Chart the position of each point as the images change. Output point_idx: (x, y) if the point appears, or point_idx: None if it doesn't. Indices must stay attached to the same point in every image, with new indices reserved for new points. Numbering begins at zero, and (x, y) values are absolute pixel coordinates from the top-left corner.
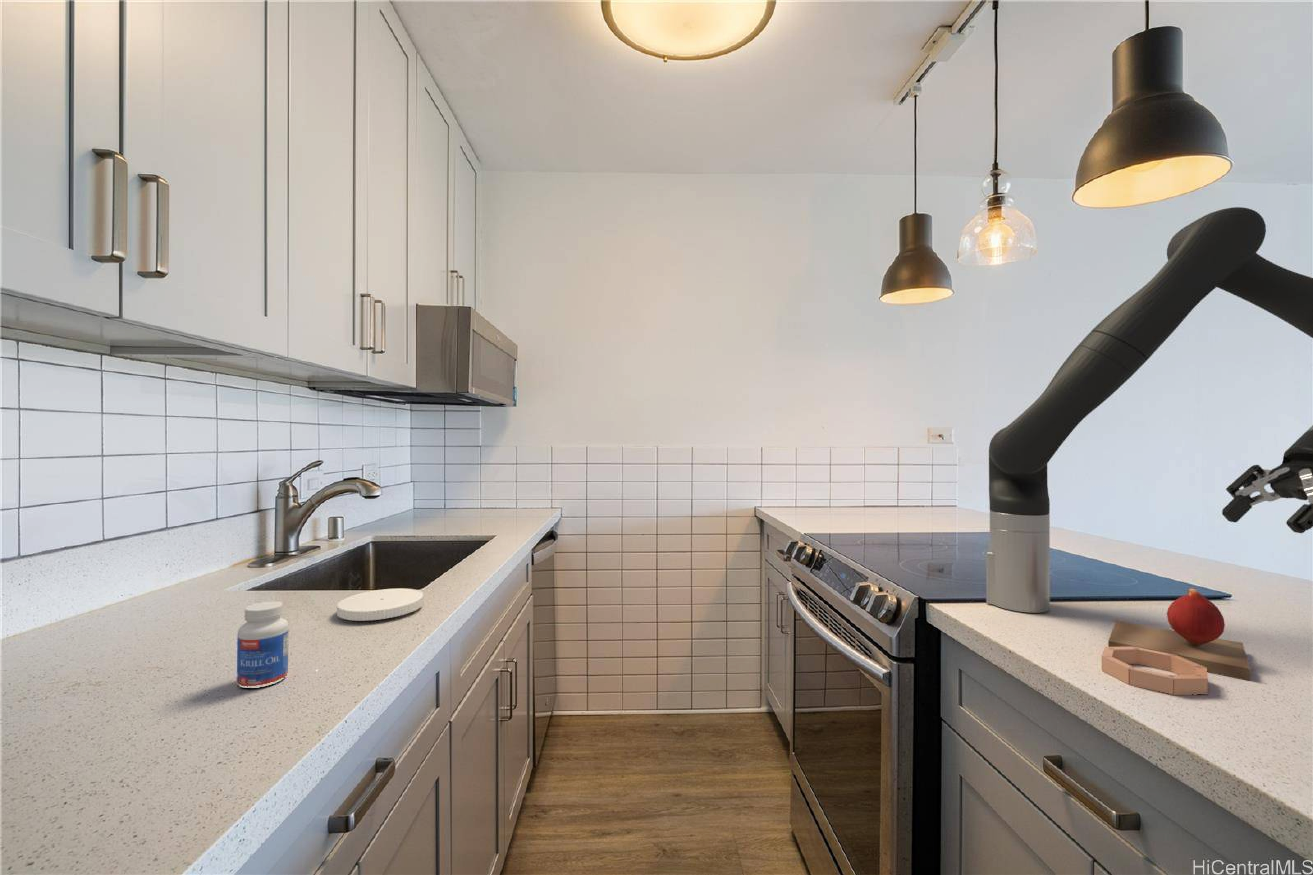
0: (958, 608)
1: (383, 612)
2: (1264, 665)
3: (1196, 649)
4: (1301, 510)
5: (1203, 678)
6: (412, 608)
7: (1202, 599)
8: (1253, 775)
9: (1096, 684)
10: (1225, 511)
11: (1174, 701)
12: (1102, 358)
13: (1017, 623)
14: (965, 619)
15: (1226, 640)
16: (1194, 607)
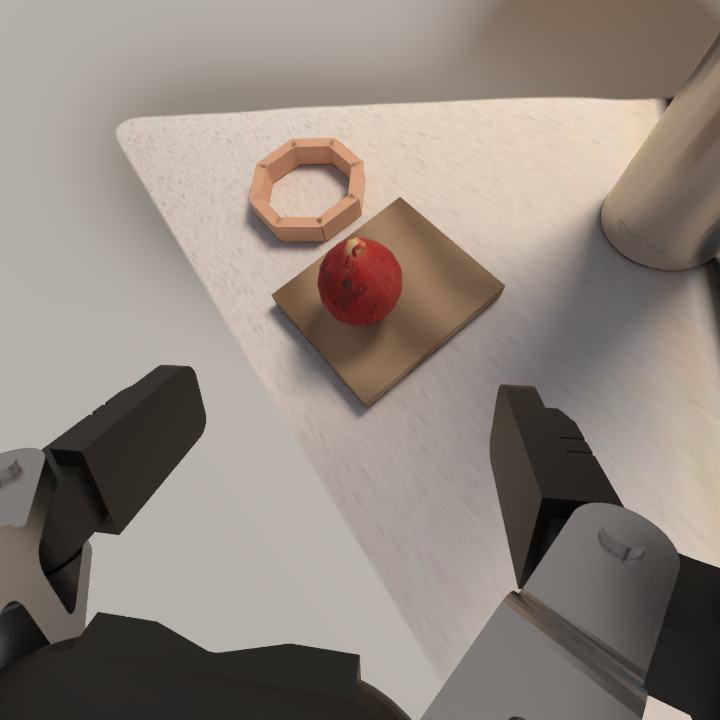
0: (626, 116)
1: None
2: (318, 388)
3: None
4: (109, 410)
5: (249, 195)
6: None
7: (337, 255)
8: (142, 127)
9: (305, 127)
10: (517, 387)
11: (253, 170)
12: None
13: (537, 163)
14: (556, 102)
15: (380, 387)
16: (337, 244)
